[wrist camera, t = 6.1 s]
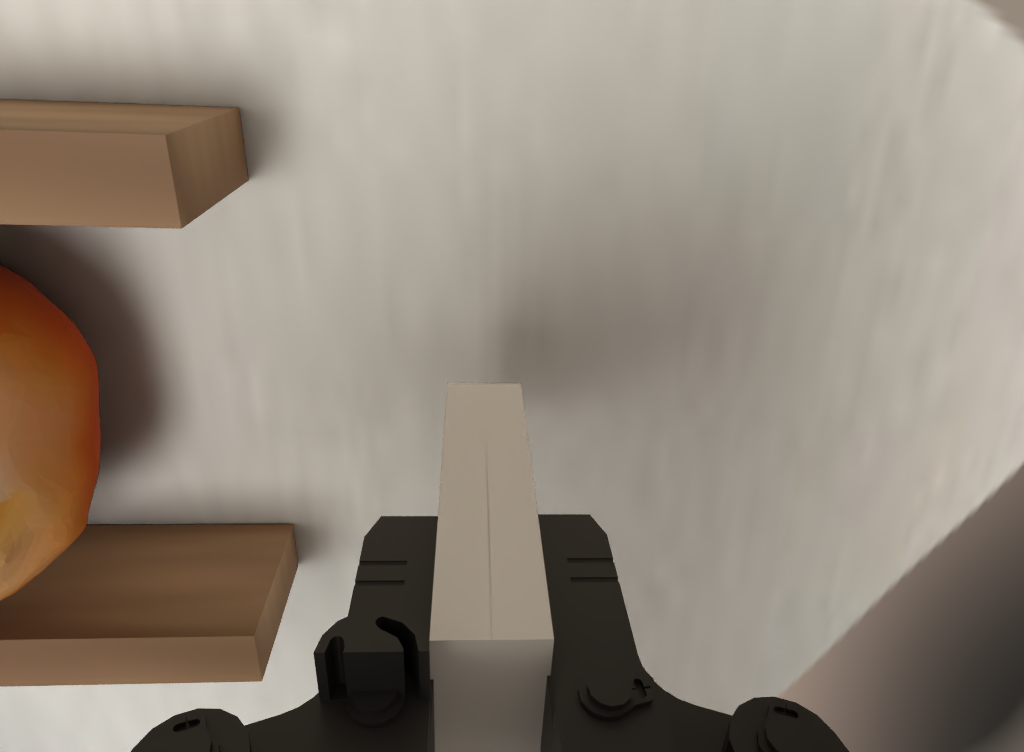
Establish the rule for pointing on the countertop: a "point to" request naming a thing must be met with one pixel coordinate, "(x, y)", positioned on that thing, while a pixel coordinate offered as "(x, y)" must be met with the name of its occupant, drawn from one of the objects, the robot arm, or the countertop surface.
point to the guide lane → (137, 548)
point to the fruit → (43, 432)
